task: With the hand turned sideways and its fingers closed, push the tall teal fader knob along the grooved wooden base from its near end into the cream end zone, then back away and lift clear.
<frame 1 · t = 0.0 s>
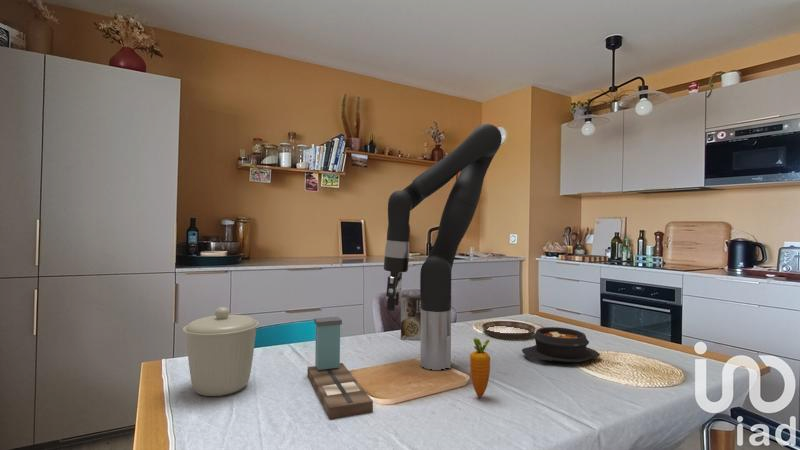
hand: (392, 307, 126), 17 cm above the table, tool pointing down, fingers open, 8 cm apart
grooved wooden base: (336, 392, 104), on the table
fader: (327, 342, 114), point 10 cm above the table, slide at 0.0 cm
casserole: (560, 358, 133), on the table
carrot: (479, 398, 101), on the table
canister: (221, 389, 106), on the table
coffee box: (412, 338, 156), on the table
plant saucer: (508, 335, 163), on the table
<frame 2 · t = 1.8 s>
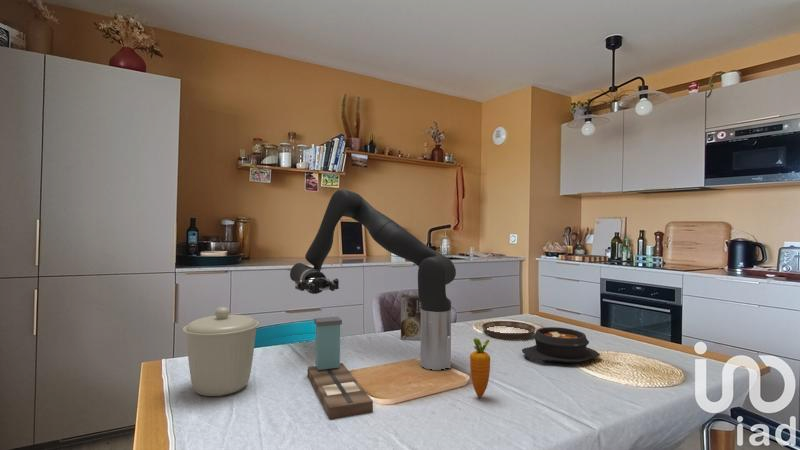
hand: (323, 287, 120), 24 cm above the table, tool horizontal, fingers open, 5 cm apart
nothing on the table moved.
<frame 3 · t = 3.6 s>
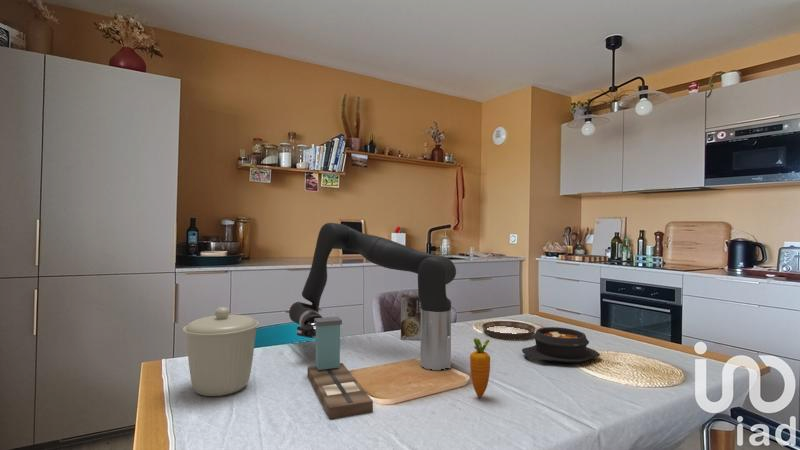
hand: (322, 336, 120), 10 cm above the table, tool horizontal, fingers closed
nothing on the table moved.
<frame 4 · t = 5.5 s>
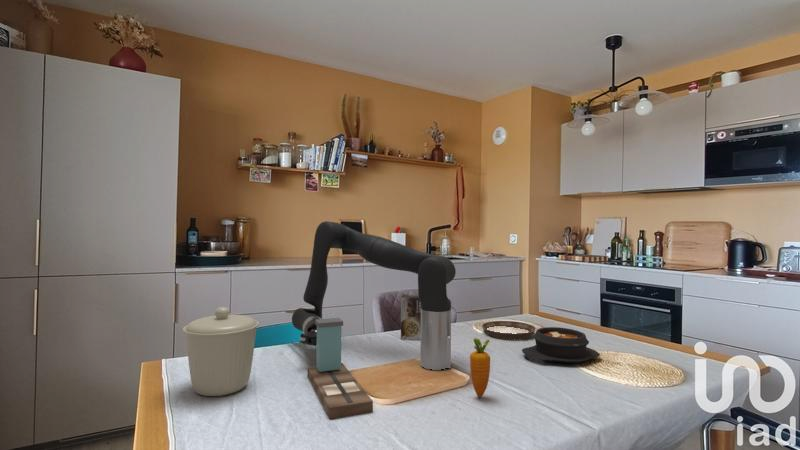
hand: (327, 344, 115), 9 cm above the table, tool horizontal, fingers closed
fader: (328, 344, 113), point 10 cm above the table, slide at 1.5 cm, touching gripper
everything else where it was.
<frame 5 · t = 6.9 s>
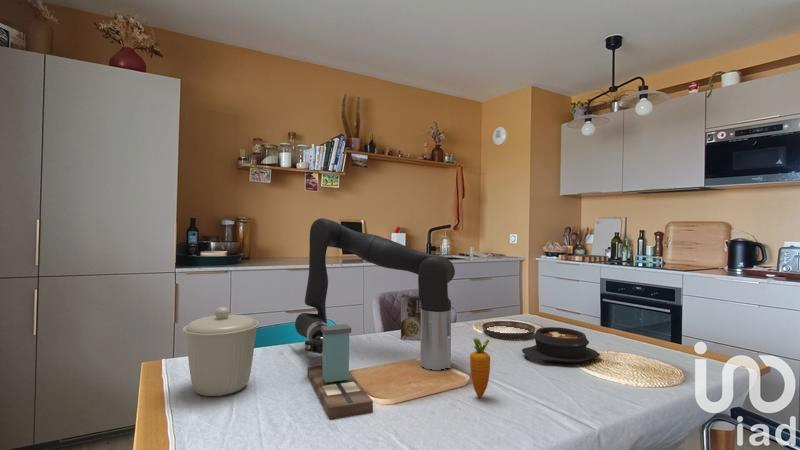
hand: (334, 352, 107), 9 cm above the table, tool horizontal, fingers closed
fader: (335, 352, 106), point 10 cm above the table, slide at 9.6 cm, touching gripper
everything else where it was.
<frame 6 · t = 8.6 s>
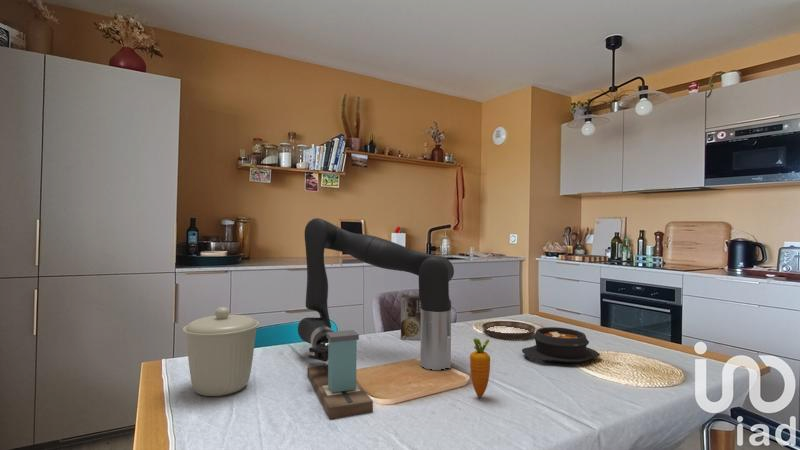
hand: (340, 360, 101), 9 cm above the table, tool horizontal, fingers closed
fader: (342, 360, 99), point 10 cm above the table, slide at 16.3 cm, touching gripper
everything else where it was.
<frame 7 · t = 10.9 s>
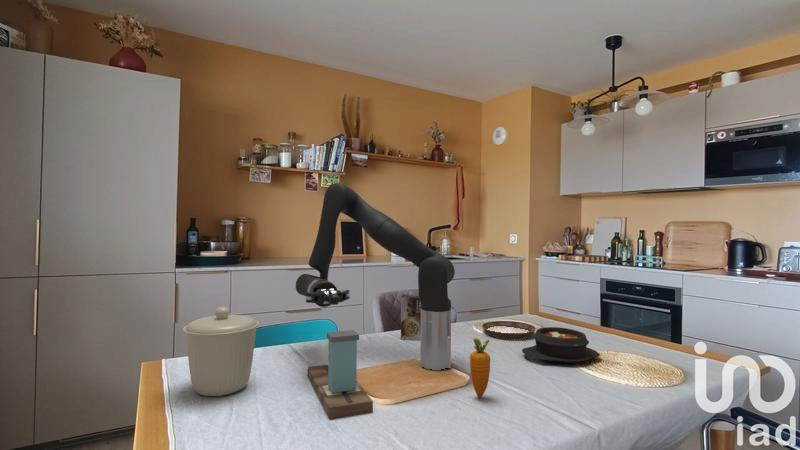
hand: (335, 300, 107), 23 cm above the table, tool horizontal, fingers closed
fader: (342, 360, 99), point 10 cm above the table, slide at 16.5 cm
everything else where it was.
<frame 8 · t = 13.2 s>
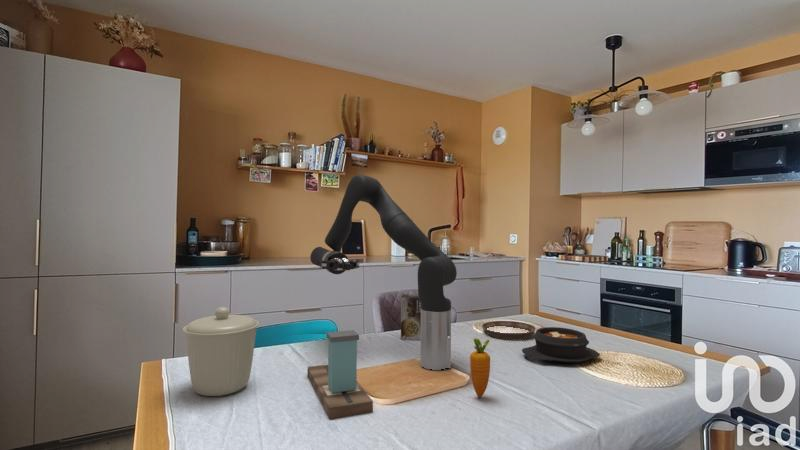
hand: (347, 266, 124), 30 cm above the table, tool horizontal, fingers closed
nothing on the table moved.
at the end: fader slide at 16.5 cm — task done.
